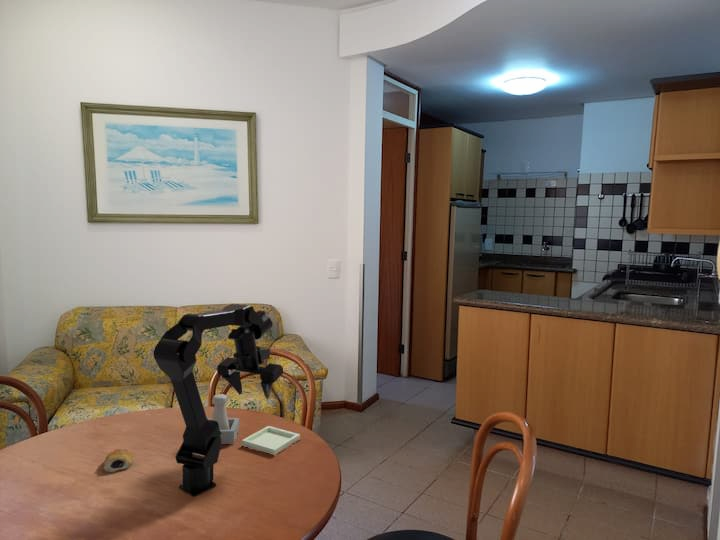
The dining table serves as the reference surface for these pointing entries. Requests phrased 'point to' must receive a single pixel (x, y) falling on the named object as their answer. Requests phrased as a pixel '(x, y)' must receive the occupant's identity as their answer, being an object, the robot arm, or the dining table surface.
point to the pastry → (118, 460)
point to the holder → (230, 431)
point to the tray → (270, 440)
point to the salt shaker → (220, 411)
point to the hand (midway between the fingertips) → (254, 395)
